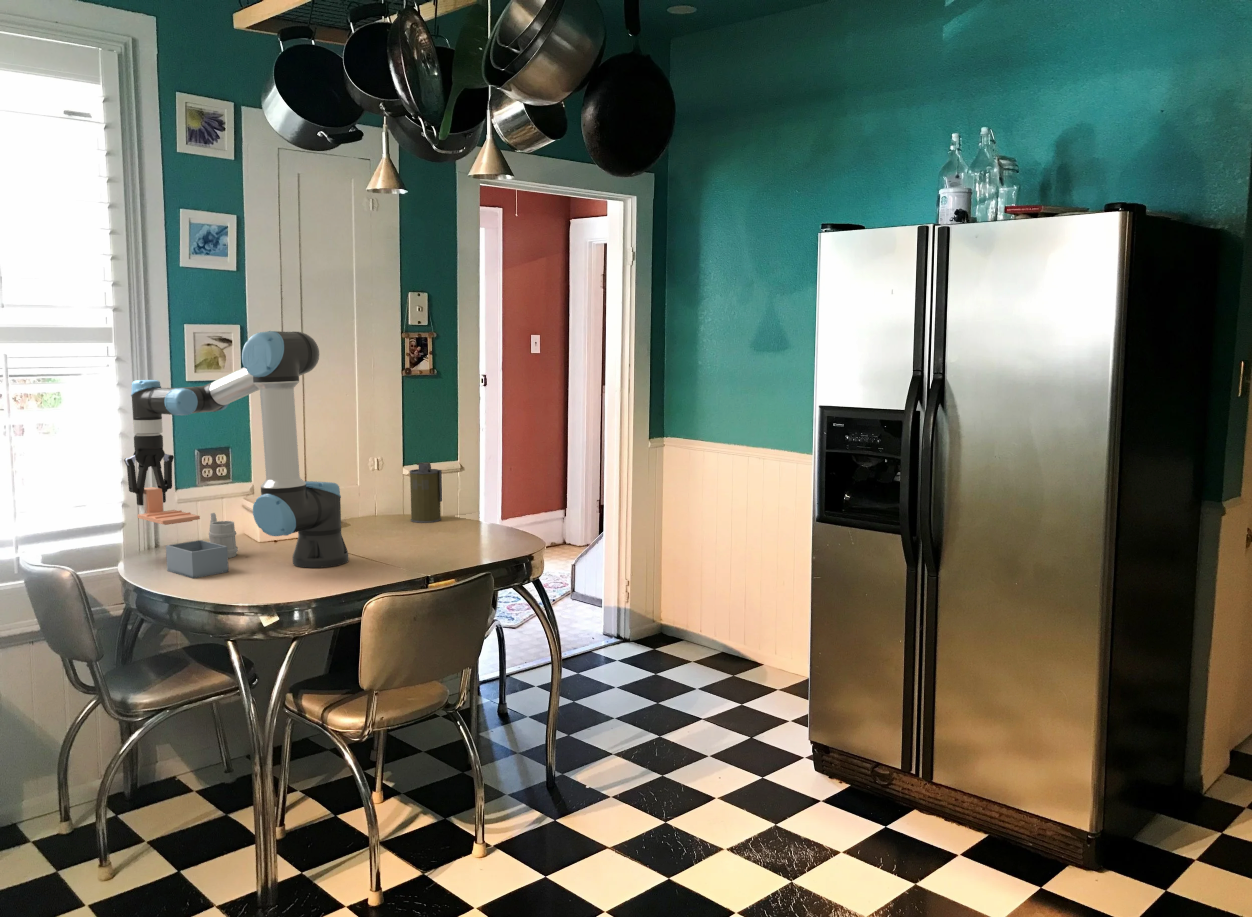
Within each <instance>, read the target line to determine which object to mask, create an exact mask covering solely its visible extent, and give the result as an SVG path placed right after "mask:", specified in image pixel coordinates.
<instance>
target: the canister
mask: <svg viewBox="0 0 1252 917" xmlns="http://www.w3.org/2000/svg"><path fill="white" fill-rule="evenodd" d="M416 465H417V466H418V468H417V469H411V470H409V476H410V477H409V482H410V486H409V487H410V515H411V516H410V522H413V523H417V524H422V523H423V524H427V523H428V524H429V523H436V522H440V521H442V517H441V516H442V515H441V502H443V481H442V479H443V478H442V477H443V476H442V472H443V471H442V469H437V468H432V466H431V465H432V464H431V462H418V463H416Z"/></svg>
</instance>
